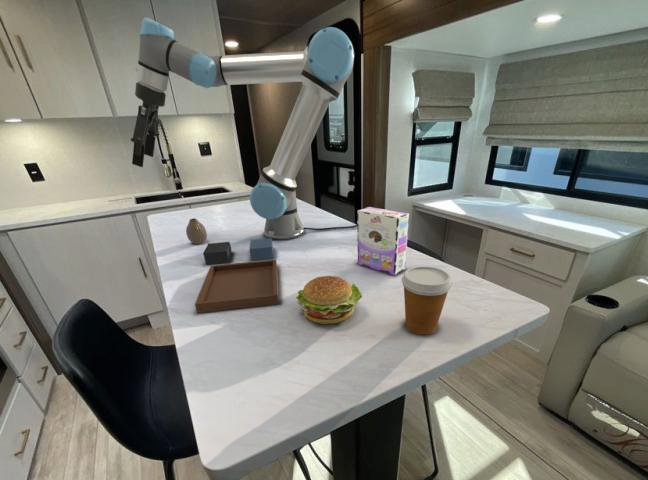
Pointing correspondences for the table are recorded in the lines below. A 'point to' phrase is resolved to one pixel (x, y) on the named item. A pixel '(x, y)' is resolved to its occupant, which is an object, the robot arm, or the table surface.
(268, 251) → the pad
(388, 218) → the candy box
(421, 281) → the disposable coffee cup
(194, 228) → the vase
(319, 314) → the food
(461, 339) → the table surface
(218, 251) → the pad
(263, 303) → the brown wooden tray
